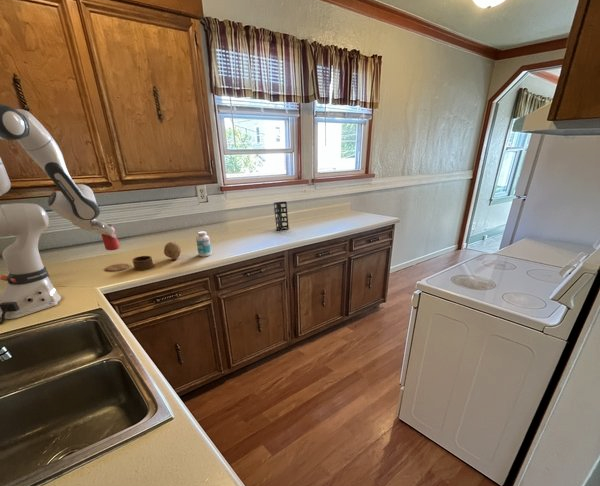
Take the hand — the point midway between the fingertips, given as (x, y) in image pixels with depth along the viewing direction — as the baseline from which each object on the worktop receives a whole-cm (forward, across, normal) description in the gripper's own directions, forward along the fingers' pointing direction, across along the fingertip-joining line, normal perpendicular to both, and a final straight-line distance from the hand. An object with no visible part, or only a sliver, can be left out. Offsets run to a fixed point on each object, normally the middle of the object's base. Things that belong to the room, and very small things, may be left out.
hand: (110, 236), depth 167 cm
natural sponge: (+29, -15, -5) cm, 33 cm away
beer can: (+4, 0, +5) cm, 7 cm away
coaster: (+11, 0, +12) cm, 17 cm away
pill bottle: (+40, -24, -16) cm, 49 cm away
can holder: (+16, -12, +7) cm, 22 cm away
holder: (+96, -26, -72) cm, 123 cm away
